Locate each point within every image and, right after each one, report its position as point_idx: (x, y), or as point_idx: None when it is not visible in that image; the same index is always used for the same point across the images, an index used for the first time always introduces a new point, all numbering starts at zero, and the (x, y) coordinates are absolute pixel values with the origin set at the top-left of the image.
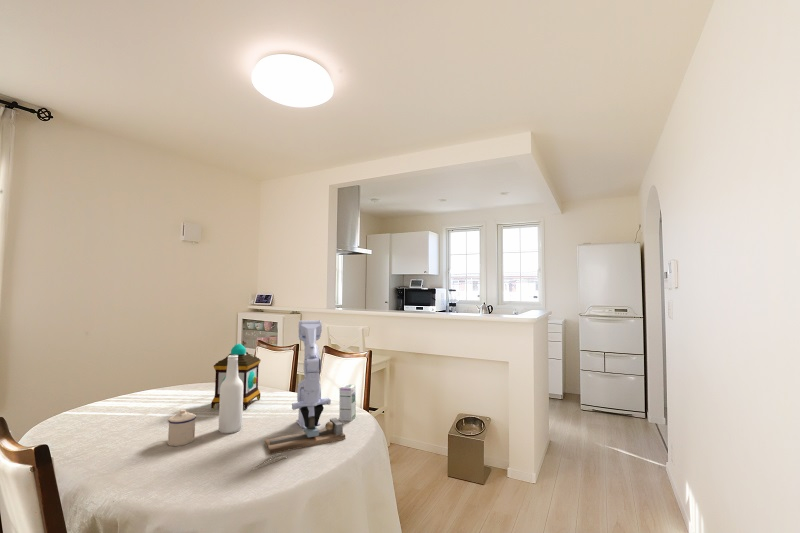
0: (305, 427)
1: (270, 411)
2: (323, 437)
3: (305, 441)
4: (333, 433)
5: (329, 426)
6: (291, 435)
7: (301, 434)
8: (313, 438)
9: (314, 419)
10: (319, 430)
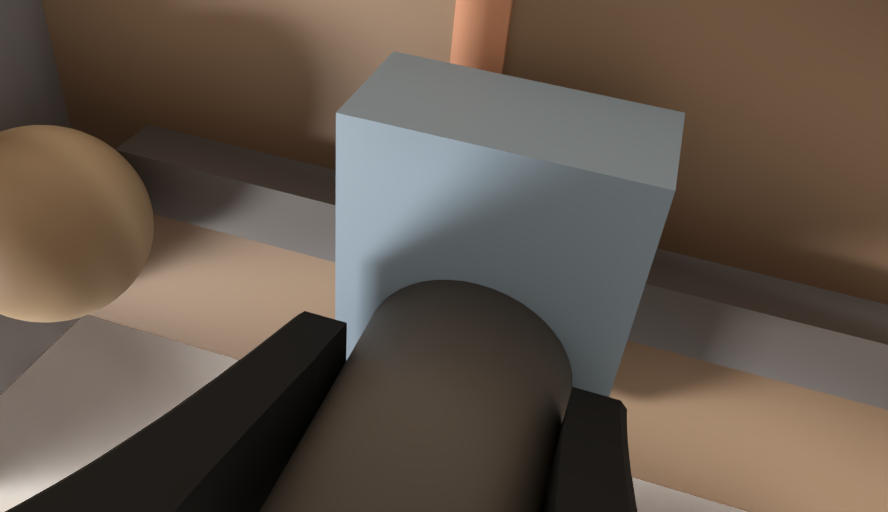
0: None
1: None
2: (304, 11)
3: (784, 70)
4: (69, 70)
5: (33, 163)
6: (804, 504)
7: None
8: None
9: (303, 488)
10: None
